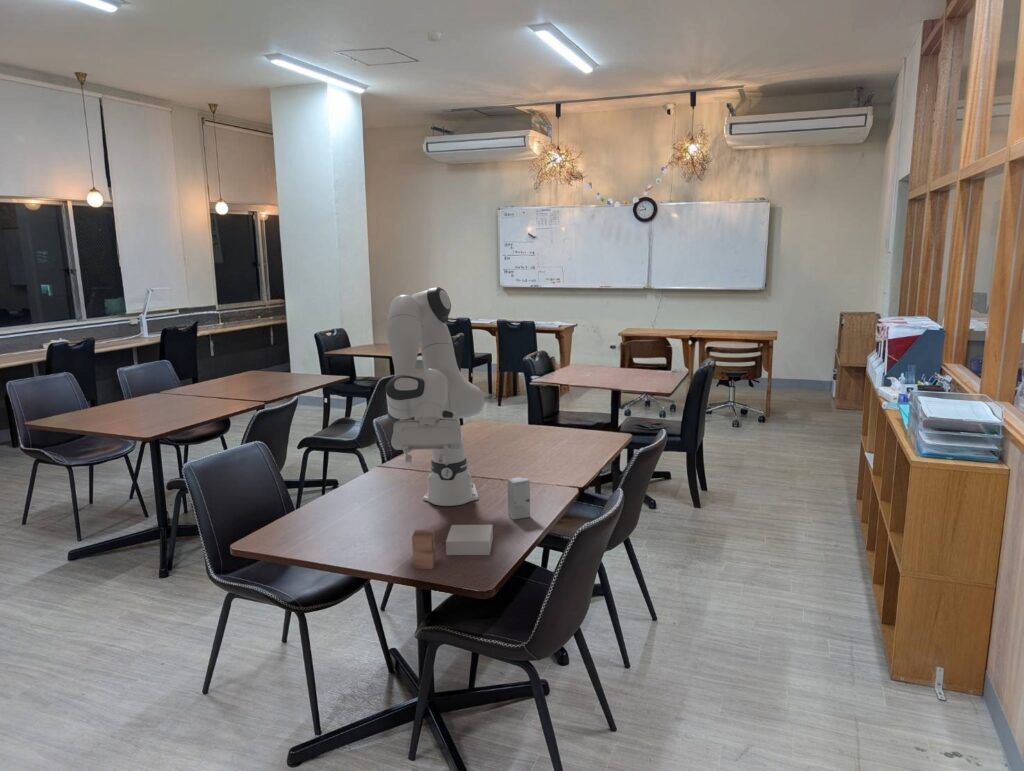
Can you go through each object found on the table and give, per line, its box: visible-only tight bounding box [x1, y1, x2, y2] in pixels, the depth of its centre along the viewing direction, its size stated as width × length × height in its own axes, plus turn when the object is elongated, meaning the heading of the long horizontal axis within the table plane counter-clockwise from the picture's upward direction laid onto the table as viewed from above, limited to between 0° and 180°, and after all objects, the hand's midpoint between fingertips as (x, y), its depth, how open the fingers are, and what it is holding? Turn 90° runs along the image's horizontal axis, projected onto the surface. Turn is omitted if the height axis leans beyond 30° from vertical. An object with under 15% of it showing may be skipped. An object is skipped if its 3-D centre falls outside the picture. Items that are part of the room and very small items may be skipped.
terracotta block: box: [411, 529, 436, 570], centre depth 186 cm, size 5×5×9 cm
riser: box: [445, 524, 494, 556], centre depth 198 cm, size 12×12×4 cm
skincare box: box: [506, 476, 531, 520], centre depth 219 cm, size 6×4×12 cm
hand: (424, 461), depth 194 cm, fingers open, 8 cm apart
